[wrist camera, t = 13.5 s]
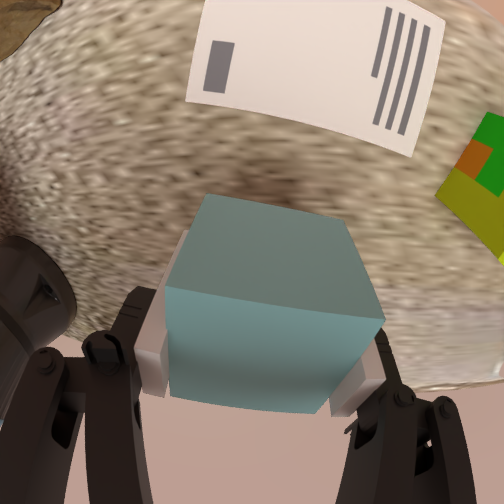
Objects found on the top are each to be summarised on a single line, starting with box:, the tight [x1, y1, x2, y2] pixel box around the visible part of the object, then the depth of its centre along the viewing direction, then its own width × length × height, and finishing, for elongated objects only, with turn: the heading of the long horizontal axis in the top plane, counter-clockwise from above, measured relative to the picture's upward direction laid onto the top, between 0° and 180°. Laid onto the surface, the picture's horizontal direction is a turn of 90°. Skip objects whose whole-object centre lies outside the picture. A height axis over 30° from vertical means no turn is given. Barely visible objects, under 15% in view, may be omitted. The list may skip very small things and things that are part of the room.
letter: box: [185, 0, 445, 158], centre depth 16 cm, size 18×13×1 cm
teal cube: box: [165, 193, 386, 414], centre depth 11 cm, size 6×6×6 cm
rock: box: [0, 0, 61, 61], centre depth 11 cm, size 11×9×10 cm
